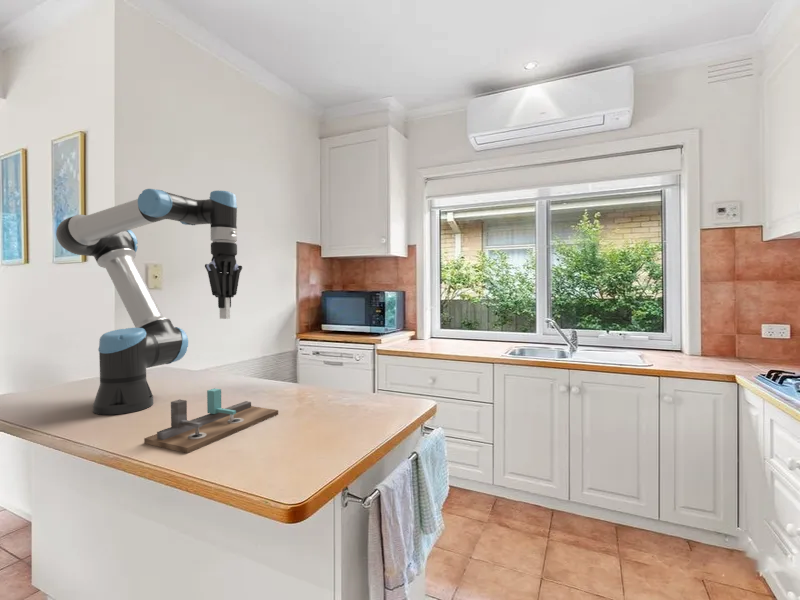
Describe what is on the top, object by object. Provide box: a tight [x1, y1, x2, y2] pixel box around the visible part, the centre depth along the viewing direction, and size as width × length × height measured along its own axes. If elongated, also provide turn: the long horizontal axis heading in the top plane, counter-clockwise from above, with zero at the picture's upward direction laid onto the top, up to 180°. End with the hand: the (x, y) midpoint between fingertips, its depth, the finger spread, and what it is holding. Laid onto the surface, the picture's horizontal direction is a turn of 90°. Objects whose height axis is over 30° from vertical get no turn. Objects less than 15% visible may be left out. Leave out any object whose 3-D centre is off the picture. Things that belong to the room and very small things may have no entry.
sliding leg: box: [206, 387, 236, 421], centre depth 109 cm, size 8×2×7 cm, turn 67°
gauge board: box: [143, 399, 279, 454], centre depth 107 cm, size 14×30×9 cm, turn 157°
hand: (224, 318), depth 129 cm, fingers closed
